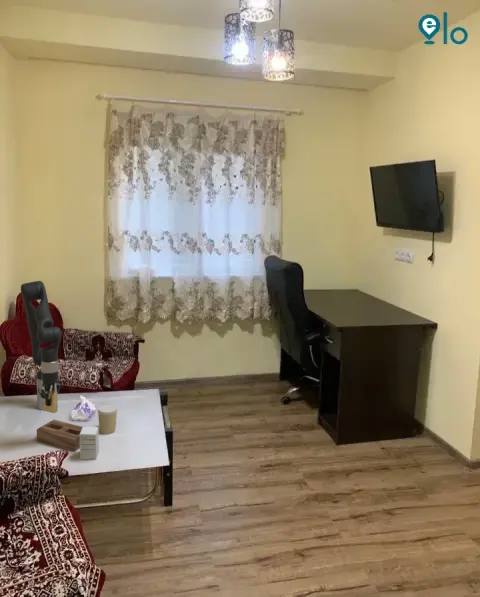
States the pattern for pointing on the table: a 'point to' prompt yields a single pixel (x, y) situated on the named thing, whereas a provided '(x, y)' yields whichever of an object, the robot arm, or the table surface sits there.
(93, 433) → the miniature drawer cabinet
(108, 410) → the coffee cup
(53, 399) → the yellow tan block
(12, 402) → the table surface
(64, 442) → the two-slot wooden tray
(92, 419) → the table surface
